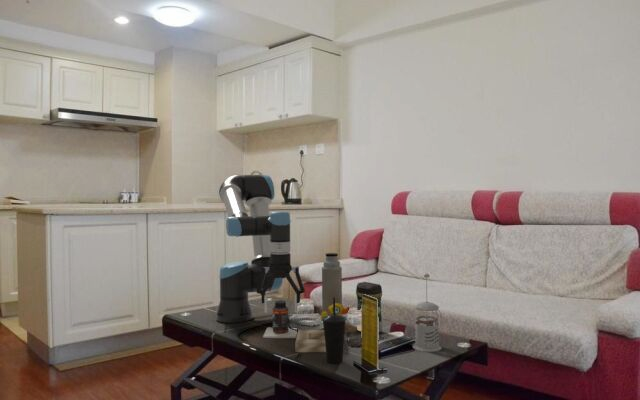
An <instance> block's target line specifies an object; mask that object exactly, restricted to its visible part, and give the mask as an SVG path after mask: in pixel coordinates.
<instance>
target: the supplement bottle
mask: <svg viewBox="0 0 640 400" xmlns="http://www.w3.org/2000/svg"><path fill="white" fill-rule="evenodd" d="M272 327H273V332H275V333H286V332H288V327H289V308H288V307H287V301H286V300H277V301H275V302H274V306H273V308H272Z"/></svg>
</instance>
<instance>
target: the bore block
mask: <svg viewBox="0 0 640 400" xmlns="http://www.w3.org/2000/svg"><path fill="white" fill-rule="evenodd" d="M294 343H295V344H294V345H295V347H294V349H295V353H326V346H325V336H324V329H298V332H297V336H296V338H295V342H294ZM344 348H345V347H344ZM344 348H343V353H344V350H345V349H344Z"/></svg>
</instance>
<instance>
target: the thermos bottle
mask: <svg viewBox="0 0 640 400" xmlns="http://www.w3.org/2000/svg"><path fill="white" fill-rule="evenodd" d="M338 256H339V255H338V253H337V252H336V253H335V252H334V253H333V252H329V253H328V252H327V253H325V260H323V264H322V267H321V299H322V300H321V310H322V311H321V314H322V313H323V312H324V311H326V312H327V314H328V315H329V314H331V313H330V311H329V309H328V308H329V306H331V305H333V298H335V303H340V304H341V305H343V288H342V287H343V278H342V277H343V276H342V275H343V274H342V273H343V271H342V266H341V262H340V261H339V260H338V259H339V258H338Z"/></svg>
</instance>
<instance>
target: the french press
mask: <svg viewBox="0 0 640 400" xmlns="http://www.w3.org/2000/svg"><path fill="white" fill-rule="evenodd" d="M423 277H424V278H426V282H425V283H426V293H425V294H426V297H425V298H426V301H422V302H419V303H417V304H415V306H414V308H415V309H416V310H418V311H422V312H424V311H425V312H432V314H436V317H435V316H429V315H420V316H417V317H415V318H416V320H417V321H415V325H414V330H415V331H414V333H415V335H414V338H415V339H414V341H415V342H414V343H413V344H412V346H411V347H412V348H413V349H415V350H417V351H420V352H428V353H429V352H439V351H441V350H442V348H443V347H442V346H441V345H440V344H439V343H440V340H439V335H440V334H439V330H440V328H441V326H442V321H443V320H442V319H443V317H442V313H441V311H440V310H439V309H440V306H438V305H437V304H436V303H434V302H430V301H428V278H430V274H429V273H424V274H423ZM434 311H435V312H434ZM437 311H438V312H439V315H440V324H439V322H438V321H439V315H438V312H437ZM422 324H423V325H422Z"/></svg>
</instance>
